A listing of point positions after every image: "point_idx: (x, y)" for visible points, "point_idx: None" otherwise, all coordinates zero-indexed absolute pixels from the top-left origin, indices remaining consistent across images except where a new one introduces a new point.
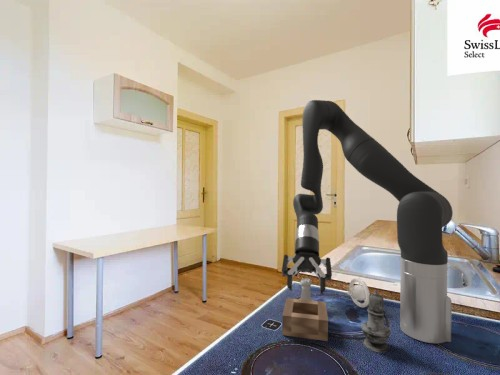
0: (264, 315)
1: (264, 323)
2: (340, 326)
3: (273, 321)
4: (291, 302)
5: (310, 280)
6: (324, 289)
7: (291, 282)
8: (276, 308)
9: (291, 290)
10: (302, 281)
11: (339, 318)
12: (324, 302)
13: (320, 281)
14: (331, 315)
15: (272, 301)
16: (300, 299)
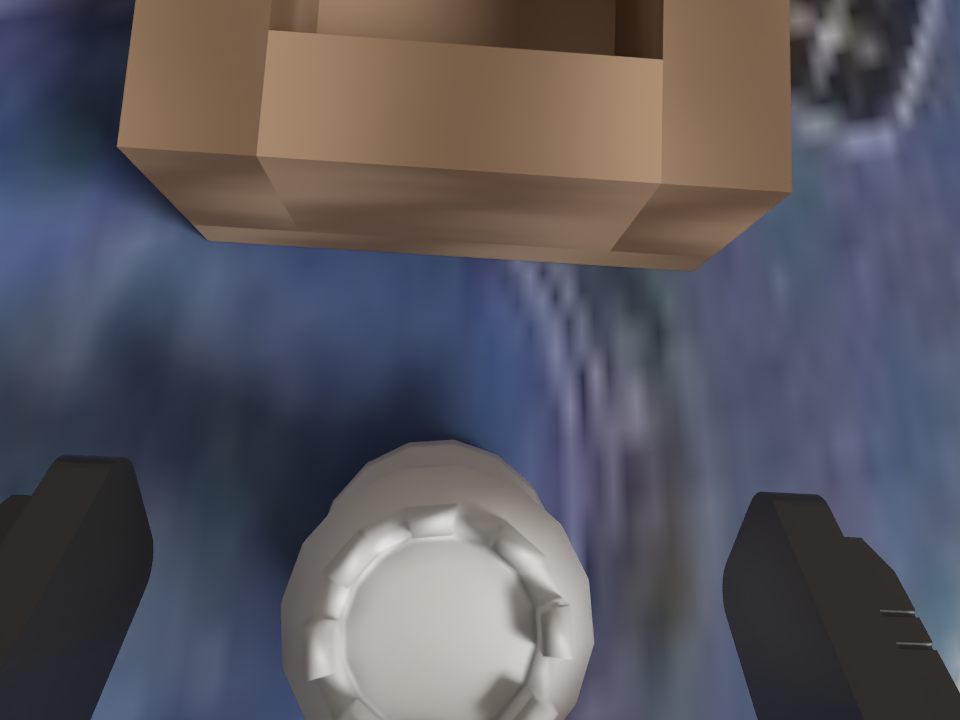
0: (948, 214)
1: (910, 36)
2: (52, 109)
3: (822, 93)
4: (695, 35)
5: (312, 619)
6: (18, 499)
7: (814, 578)
8: (837, 435)
9: (732, 565)
10: (543, 550)
11: (14, 306)
12: (139, 123)
13: (17, 628)
14: (105, 372)
15: None
16: (551, 175)
